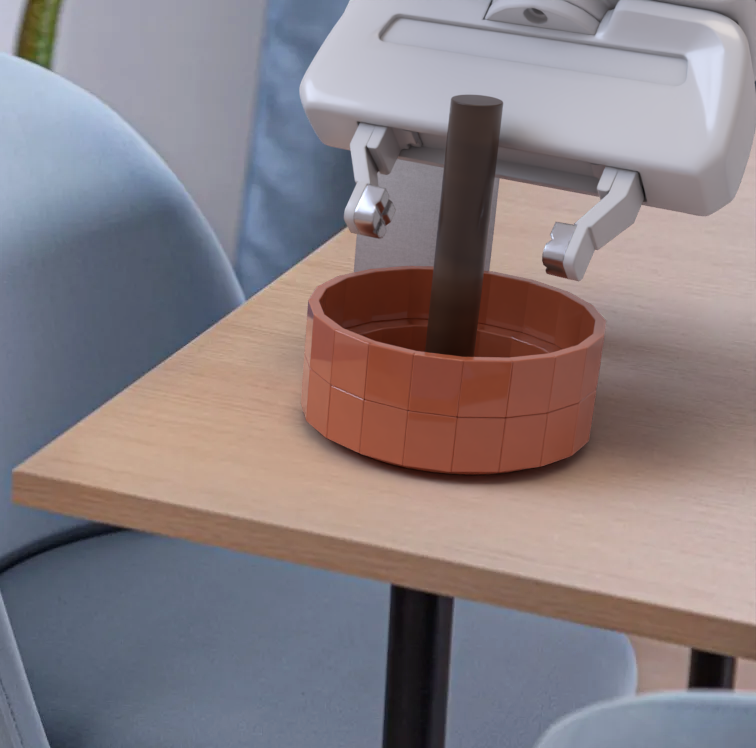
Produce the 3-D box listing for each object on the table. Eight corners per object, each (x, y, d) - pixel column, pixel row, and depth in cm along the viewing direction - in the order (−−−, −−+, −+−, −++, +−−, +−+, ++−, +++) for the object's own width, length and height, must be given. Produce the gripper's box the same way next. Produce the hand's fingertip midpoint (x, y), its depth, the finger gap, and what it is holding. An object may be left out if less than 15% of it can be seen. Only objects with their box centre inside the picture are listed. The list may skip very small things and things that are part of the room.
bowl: (494, 363, 88) (507, 257, 86) (646, 464, 77) (665, 345, 75) (256, 389, 83) (263, 277, 81) (382, 499, 72) (394, 373, 70)
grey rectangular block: (480, 348, 90) (502, 154, 86) (348, 336, 91) (364, 142, 86) (481, 325, 93) (503, 137, 89) (354, 313, 94) (370, 126, 90)
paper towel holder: (465, 387, 83) (500, 83, 77) (528, 430, 79) (570, 111, 73) (360, 398, 81) (387, 88, 75) (417, 444, 77) (451, 117, 71)
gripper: (350, -81, 82) (228, 167, 78) (790, -29, 72) (673, 256, 69) (386, 7, 87) (274, 243, 84) (799, 67, 78) (692, 335, 74)
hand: (457, 249), depth 76 cm, fingers open, 8 cm apart
